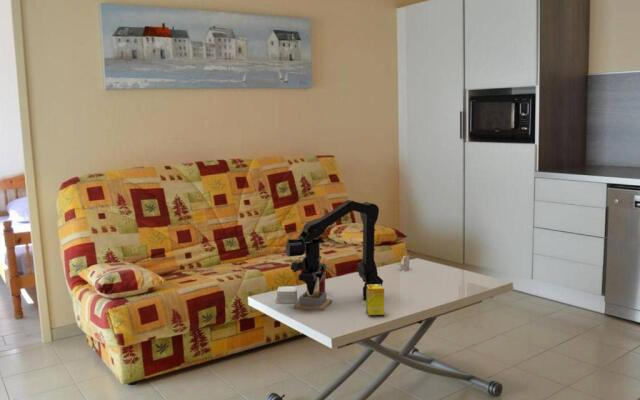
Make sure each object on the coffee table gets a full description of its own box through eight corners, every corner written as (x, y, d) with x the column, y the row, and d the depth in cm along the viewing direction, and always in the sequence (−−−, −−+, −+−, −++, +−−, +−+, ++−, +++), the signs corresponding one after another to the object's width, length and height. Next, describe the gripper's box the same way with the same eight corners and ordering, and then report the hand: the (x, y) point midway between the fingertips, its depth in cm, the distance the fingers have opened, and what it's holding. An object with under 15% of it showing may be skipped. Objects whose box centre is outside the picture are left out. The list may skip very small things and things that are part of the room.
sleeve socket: (331, 301, 241) (331, 291, 240) (323, 310, 230) (323, 300, 229) (303, 299, 244) (303, 289, 244) (293, 308, 233) (293, 298, 232)
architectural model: (397, 271, 291) (397, 256, 290) (404, 268, 296) (404, 254, 296) (403, 272, 289) (403, 257, 288) (410, 269, 294) (410, 254, 294)
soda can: (323, 297, 248) (323, 269, 246) (306, 296, 249) (306, 268, 248) (326, 292, 255) (326, 264, 253) (310, 291, 256) (309, 264, 255)
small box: (296, 303, 240) (296, 291, 239) (277, 303, 240) (276, 291, 239) (297, 298, 248) (297, 286, 247) (278, 298, 248) (278, 286, 247)
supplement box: (365, 312, 228) (365, 284, 226) (381, 311, 228) (381, 283, 227) (368, 317, 222) (368, 288, 220) (384, 316, 222) (384, 288, 221)
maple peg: (320, 299, 238) (320, 277, 237) (317, 302, 234) (317, 280, 232) (308, 298, 240) (308, 276, 239) (305, 301, 235) (304, 279, 234)
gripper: (300, 248, 245) (301, 285, 247) (285, 258, 228) (286, 298, 230) (326, 249, 242) (326, 287, 244) (313, 260, 225) (313, 300, 227)
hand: (313, 292), depth 236 cm, fingers closed on maple peg, 5 cm apart
